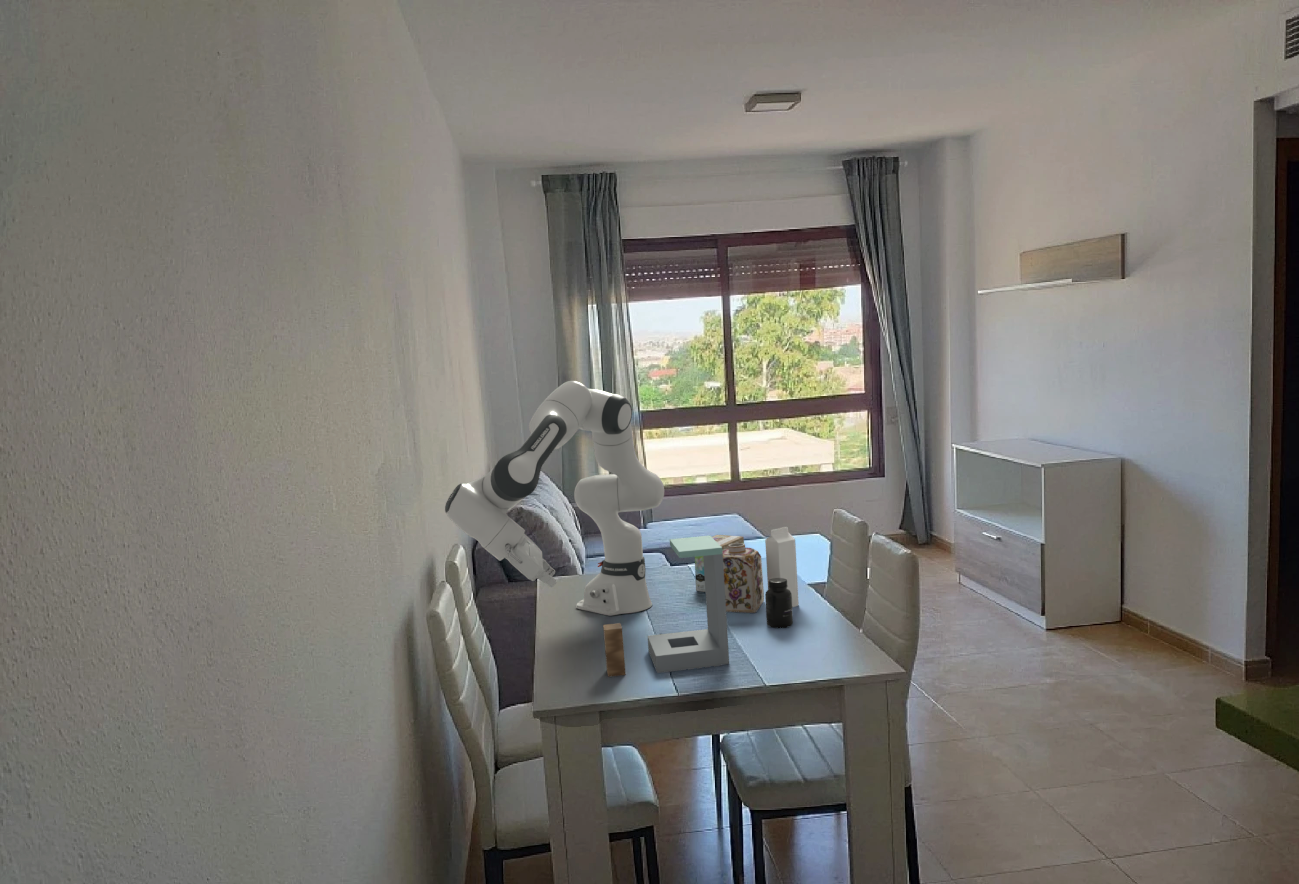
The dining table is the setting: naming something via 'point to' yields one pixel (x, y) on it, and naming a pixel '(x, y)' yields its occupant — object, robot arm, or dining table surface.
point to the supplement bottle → (778, 604)
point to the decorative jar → (742, 579)
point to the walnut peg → (614, 649)
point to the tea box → (699, 562)
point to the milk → (782, 560)
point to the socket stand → (711, 642)
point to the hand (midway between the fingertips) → (554, 579)
